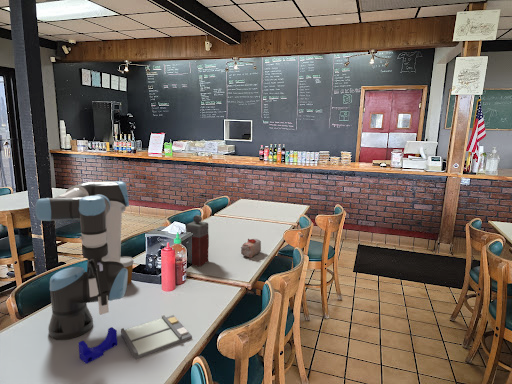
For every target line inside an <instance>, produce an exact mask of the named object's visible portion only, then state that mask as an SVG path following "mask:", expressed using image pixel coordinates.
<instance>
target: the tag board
mask: <svg viewBox="0 0 512 384" xmlns="http://www.w3.org/2000/svg"><path fill="white" fill-rule="evenodd" d="M120 334H121V337H122V339H123V340H124V342H125V343H126V346H127V347H128V349H129V350H130V352H131V354H132V356H133V358H134V359H135V360H137V359H139V358H142V357H145V356H148V355H150V354H153V353H155V352H158V351H161V350H164V349H166V348H169V347H171V346H175V345H177V344H180V343H182V342H185V341H187V340H188V341H189V340H190V339H192V338H193V335H192V334H191V333H190V331H189V330H188V329H186V327H185V326H184V325H183V323H181V322H180V321H179V319H178V318H177V317H176V316H175V315H174V314H173V315H169V316H166V315H161V318H159V319H158V318H157V319H154V320H152V321H149V322H146V323H142V324H139V325H136V326H133V327H130V328H127V329H125V328H124V327H123V328H120Z"/></svg>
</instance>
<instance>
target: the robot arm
mask: <svg viewBox="0 0 512 384" xmlns="http://www.w3.org/2000/svg"><path fill="white" fill-rule="evenodd" d="M127 188H128V187H127V183H126V182H125V181H117V180H114V181H87V182H86V181H85V182H82V183H79V184H75V185H73V186H70V187H69V188H67V189H66V190H65V192H63V193H62V194H60V195H57V196H55V197H46V198H45V197H43V198H39V199H37V201H36V203H35V208H34V209H35V216H36V219H37V220H39V221H40V222H41V221H42V222H43V221H44V222H45V221H46V222H52V221H69V220H71V221H72V220H80V222H79V223H80V234H81V236H79V240H81V244H82V246H81V251H82V258H84V259H86V260H87V261H86V262H87V263H86V270H85V268H84V267H81V266H71V267H70V266H69V267H67V268H64V269H61V270H59V271H57V272H55V273H54V274H53V275H52V276H51V277H50V279H49V291H50V303H51V312H52V313H51V317H50V320H49V324H48V335H49V337H51V338H52V339H54V340H62V341H63V340H70V339H71V340H72V339H75V338H78V337H80V336H82V335H84V334H86V333H88V332H89V331H90V330H91V329H92V328H93V325H94V320H93V319H94V318H93V316H92V313H91V311H90V310H89V307H88V305H87V304H89V303H96V302H97V303H98V314H99V315H105V314H108V313H109V312H110V311H109V301H110V302H112V301H116V300H121V299H123V298H124V296H125V295H126V291H127V286H128V285H127V278H128V270H127V269H126V268H124V264H123V263H121V262H120V257H121V253H122V252H121V248H122V247H121V246H122V220H123V219H122V218H123V215H122V214H124V213H125V211H126V208H128V207H129V206H130V202H129V200H130V199H129V193H128V189H127Z"/></svg>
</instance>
